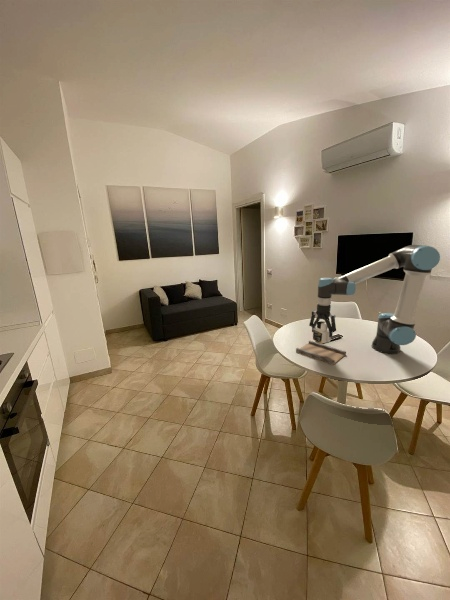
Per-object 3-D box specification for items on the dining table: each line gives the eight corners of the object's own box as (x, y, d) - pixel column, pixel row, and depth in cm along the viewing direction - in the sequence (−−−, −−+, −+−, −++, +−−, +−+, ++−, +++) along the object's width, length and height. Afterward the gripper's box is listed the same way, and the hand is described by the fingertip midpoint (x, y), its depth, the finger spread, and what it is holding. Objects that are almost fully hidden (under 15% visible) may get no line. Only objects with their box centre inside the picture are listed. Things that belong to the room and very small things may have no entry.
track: (345, 354, 147) (346, 351, 147) (333, 364, 137) (333, 361, 136) (309, 343, 165) (309, 340, 164) (296, 351, 154) (296, 348, 154)
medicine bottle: (312, 339, 150) (313, 321, 147) (321, 337, 153) (322, 319, 150) (321, 344, 144) (322, 325, 141) (330, 341, 147) (331, 323, 144)
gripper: (304, 302, 148) (302, 336, 154) (339, 308, 133) (335, 346, 138) (310, 299, 153) (308, 333, 159) (345, 306, 137) (341, 342, 143)
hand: (321, 339), depth 148 cm, fingers closed on medicine bottle, 8 cm apart
